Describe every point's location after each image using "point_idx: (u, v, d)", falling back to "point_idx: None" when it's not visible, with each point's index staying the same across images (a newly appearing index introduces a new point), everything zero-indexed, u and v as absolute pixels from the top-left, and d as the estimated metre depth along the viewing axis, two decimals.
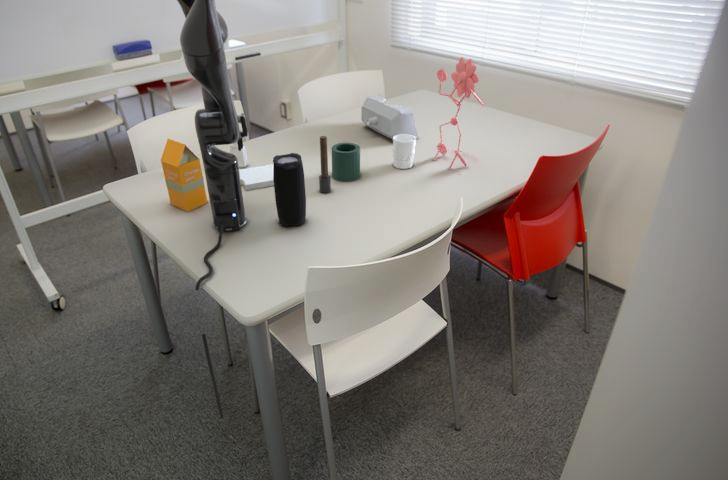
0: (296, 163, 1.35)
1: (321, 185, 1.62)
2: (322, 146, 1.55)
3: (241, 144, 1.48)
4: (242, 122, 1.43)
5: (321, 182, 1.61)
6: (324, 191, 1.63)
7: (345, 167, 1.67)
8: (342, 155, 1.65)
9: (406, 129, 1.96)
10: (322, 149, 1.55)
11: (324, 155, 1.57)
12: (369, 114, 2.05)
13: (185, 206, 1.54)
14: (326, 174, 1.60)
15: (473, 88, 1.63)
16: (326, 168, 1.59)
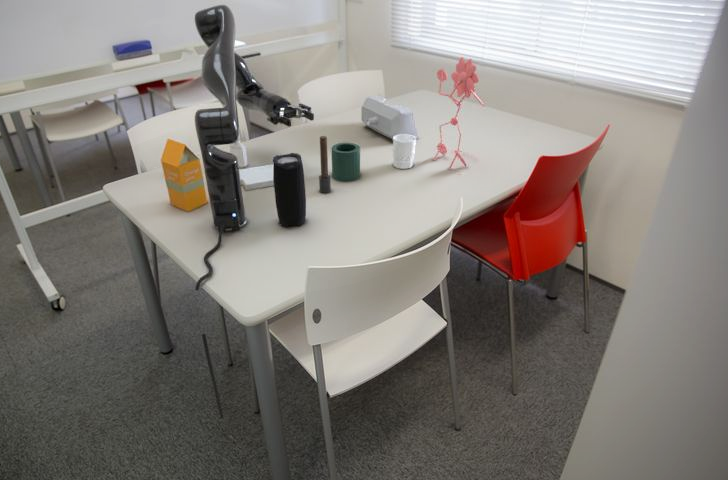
0: (296, 163, 1.35)
1: (321, 185, 1.62)
2: (322, 146, 1.55)
3: (311, 113, 1.63)
4: (302, 105, 1.68)
5: (321, 182, 1.61)
6: (324, 191, 1.63)
7: (345, 167, 1.67)
8: (342, 155, 1.65)
9: (406, 129, 1.96)
10: (322, 149, 1.55)
11: (324, 155, 1.57)
12: (369, 114, 2.05)
13: (185, 206, 1.54)
14: (326, 174, 1.60)
15: (473, 88, 1.63)
16: (326, 168, 1.59)
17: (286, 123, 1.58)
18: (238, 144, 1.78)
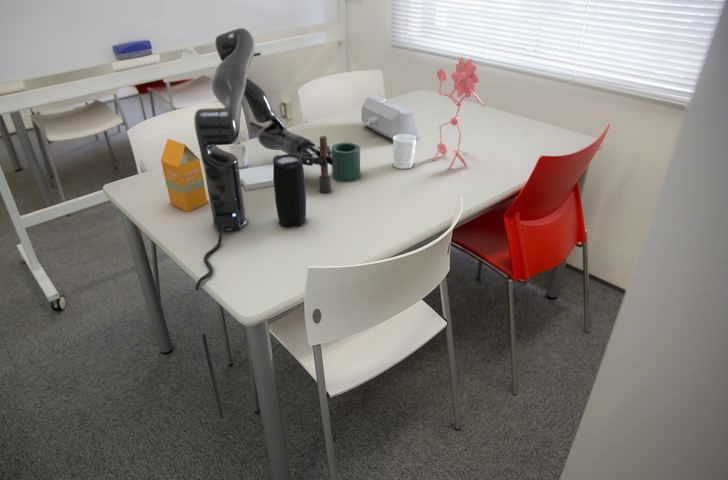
0: (296, 163, 1.35)
1: (321, 185, 1.62)
2: (322, 146, 1.55)
3: None
4: (327, 147, 1.64)
5: (321, 182, 1.61)
6: (324, 191, 1.63)
7: (345, 167, 1.67)
8: (342, 155, 1.65)
9: (406, 129, 1.96)
10: (322, 149, 1.55)
11: (324, 155, 1.57)
12: (369, 114, 2.05)
13: (185, 206, 1.54)
14: (326, 174, 1.60)
15: (473, 88, 1.63)
16: (326, 168, 1.59)
17: (322, 164, 1.56)
18: (238, 144, 1.78)
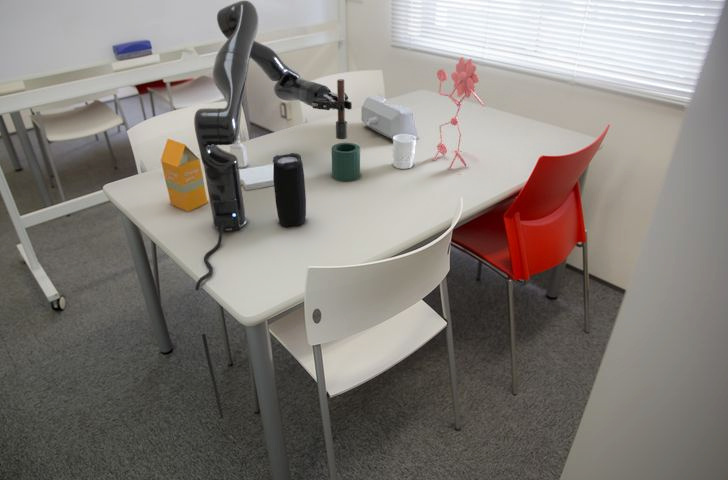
0: (296, 163, 1.35)
1: (338, 131, 1.62)
2: (340, 89, 1.55)
3: (348, 102, 1.58)
4: None
5: (338, 127, 1.61)
6: (341, 137, 1.63)
7: (345, 167, 1.67)
8: (342, 155, 1.65)
9: (406, 129, 1.96)
10: (340, 92, 1.55)
11: (341, 99, 1.57)
12: (369, 114, 2.05)
13: (185, 206, 1.54)
14: (343, 119, 1.60)
15: (473, 88, 1.63)
16: (343, 113, 1.59)
17: (339, 108, 1.56)
18: (238, 144, 1.78)
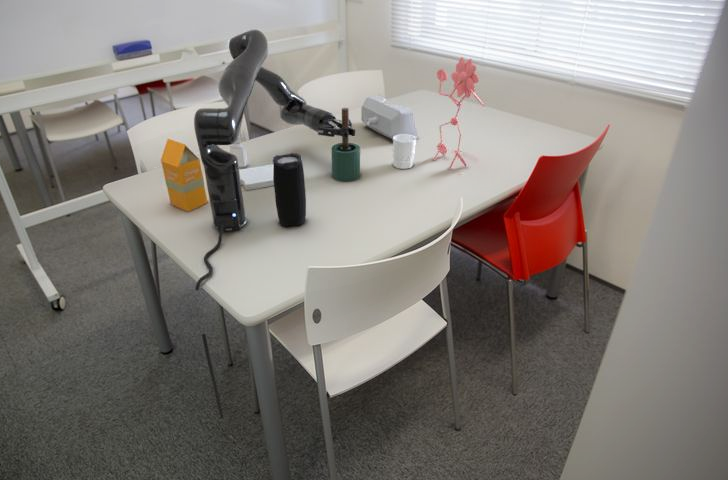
0: (296, 163, 1.35)
1: None
2: (344, 117, 1.62)
3: (352, 129, 1.65)
4: None
5: None
6: None
7: (345, 167, 1.67)
8: (342, 155, 1.65)
9: (406, 129, 1.96)
10: (344, 120, 1.62)
11: (346, 126, 1.63)
12: (369, 114, 2.05)
13: (185, 206, 1.54)
14: (347, 145, 1.67)
15: (473, 88, 1.63)
16: (347, 139, 1.66)
17: (344, 135, 1.63)
18: (238, 144, 1.78)
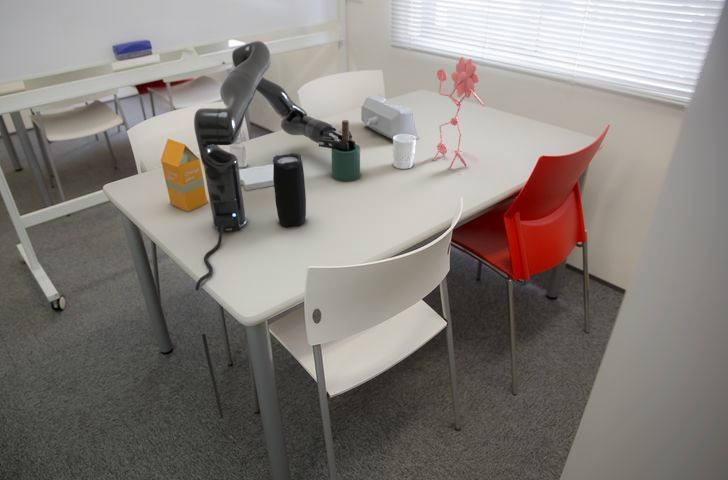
0: (296, 163, 1.35)
1: None
2: (344, 130, 1.64)
3: (352, 141, 1.68)
4: None
5: None
6: None
7: (345, 167, 1.67)
8: (342, 155, 1.65)
9: (406, 129, 1.96)
10: (344, 132, 1.64)
11: (346, 138, 1.66)
12: (369, 114, 2.05)
13: (185, 206, 1.54)
14: None
15: (473, 88, 1.63)
16: None
17: (344, 147, 1.65)
18: (238, 144, 1.78)
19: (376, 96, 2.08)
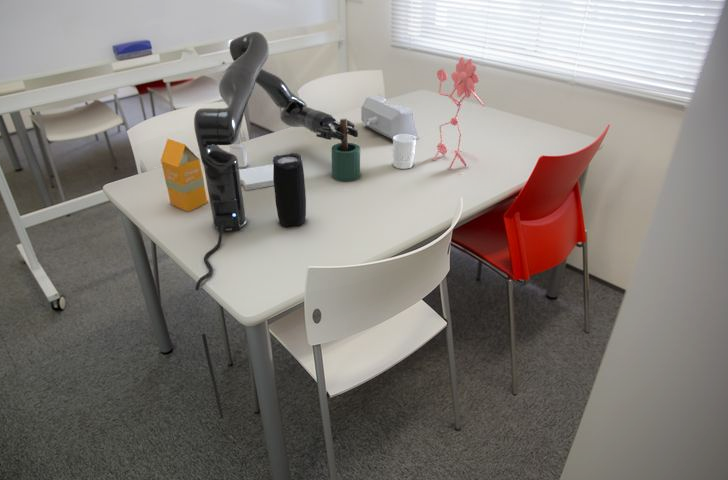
0: (296, 163, 1.35)
1: None
2: (342, 128, 1.65)
3: (355, 130, 1.66)
4: (348, 122, 1.72)
5: None
6: None
7: (345, 167, 1.67)
8: (342, 155, 1.65)
9: (406, 129, 1.96)
10: (343, 130, 1.66)
11: None
12: (369, 114, 2.05)
13: (185, 206, 1.54)
14: None
15: (473, 88, 1.63)
16: (346, 149, 1.69)
17: (340, 138, 1.63)
18: (238, 144, 1.78)
19: (376, 96, 2.08)
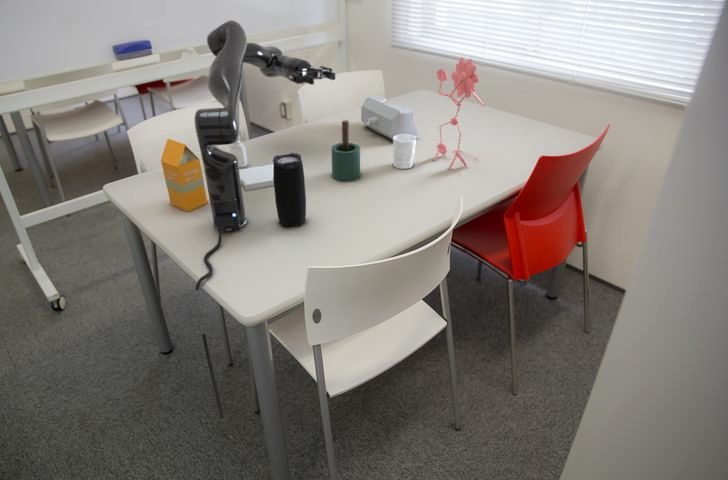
0: (296, 163, 1.35)
1: None
2: (344, 130, 1.64)
3: (332, 73, 1.68)
4: (323, 67, 1.73)
5: None
6: None
7: (345, 167, 1.67)
8: (342, 155, 1.65)
9: (406, 129, 1.96)
10: (344, 132, 1.65)
11: (346, 139, 1.66)
12: (369, 114, 2.05)
13: (185, 206, 1.54)
14: None
15: (473, 88, 1.63)
16: None
17: (309, 81, 1.63)
18: (238, 144, 1.78)
19: (376, 96, 2.08)
